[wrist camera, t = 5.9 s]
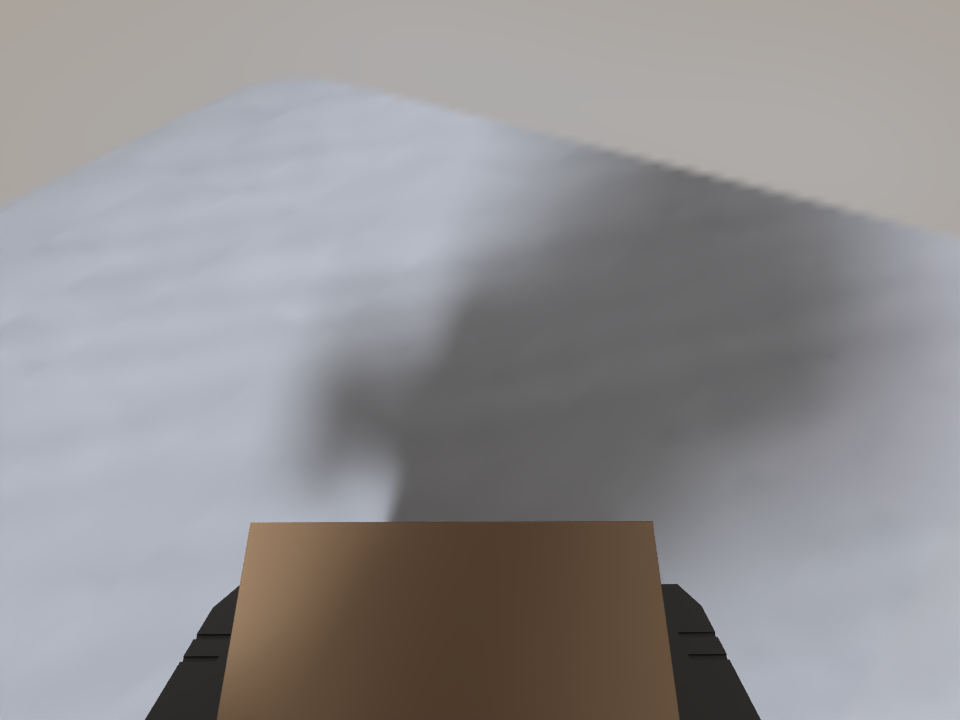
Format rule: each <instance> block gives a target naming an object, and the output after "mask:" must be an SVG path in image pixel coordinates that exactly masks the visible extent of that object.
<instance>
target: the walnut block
mask: <svg viewBox="0 0 960 720" xmlns="http://www.w3.org/2000/svg"><path fill="white" fill-rule="evenodd" d="M217 720H679V712H678V705H677V698H676V690H675V683H674V676H673V668H672V661H671V654H670V646H669V639H668V632H667V624H666V617H665V610H664V602H663V595H662V588H661V580H660V573H659V566H658V558H657V551H656V544H655V536H654V529H653V522H652V521H587V522H291V523H250V529H249V535H248V541H247V547H246V552H245V558H244V564H243V570H242V576H241V582H240V587H239V593H238V599H237V605H236V611H235V616H234V622H233V628H232V634H231V640H230V646H229V651H228V657H227V663H226V669H225V675H224V681H223V686H222V692H221V698H220V704H219V710H218V716H217Z"/></svg>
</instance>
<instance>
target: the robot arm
mask: <svg viewBox="0 0 960 720" xmlns="http://www.w3.org/2000/svg"><path fill="white" fill-rule="evenodd" d="M239 587H240V586H238V587H237V588H236V589H235V590H234V591H232V592H231V593H230V594H229V595H228V596H226V597H225V598H224V599H223V600H222V601H220V602H219V603H218V604H217V605H216V606H215V607H213V608H212V610H211V612H210V613H209V615H208V617H207V618H206V620H205V622H204V623H203V625H202V627H201V628H200V630H199V632H198V633H197V638H196V639H194V640H193V641H192V643H191V645H190V646H189V648H188V650H187V651H186V653H185V655H184V659H183V662H180V663H179V665H178V666H177V668H176V670H175V671H174V673H173V674H172V676H171V678H170V679H169V681H168V683H167V684H166V686H165V688H164V689H163V691H162V693H161V694H160V696H159V698H158V699H157V701H156V703H155V704H154V706H153V707H152V709H151V711H150V712H149V714H148V716H147V717H146V719H145V720H217V716H218V710H219V704H220V698H221V692H222V686H223V681H224V675H225V669H226V663H227V657H228V651H229V646H230V640H231V634H232V628H233V622H234V616H235V611H236V605H237V599H238V593H239ZM661 588H662V595H663V602H664V610H665V617H666V624H667V632H668V639H669V646H670V654H671V661H672V668H673V676H674V683H675V690H676V698H677V705H678V712H679V720H761V719H760V717H759V715H758V714H757V712H756V710H755V708H754V706H753V704H752V702H751V700H750V698H749V696H748V694H747V692H746V690H745V689H744V687H743V685H742V683H741V681H740V679H739V677H738V675H737V673H736V671H735V669H734V667H733V666H732V664H731V662H730V660H727V656H726V652H725V650H724V648H723V646H722V644H721V642H720V641H719V639H718V637H716V636H715V631H714V629H713V627H712V625H711V623H710V621H709V619H708V618H707V616H706V614H705V612H704V610H703V608H702V606H701V605H700V604H699V603H698V602H697V601H695V600H694V599H693V598H692V597H691V596H690V595H689V594H688V593H687V592H685V591H684V590H683V589H682V588H681V587H680V586H679V585H678V584H661Z"/></svg>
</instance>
